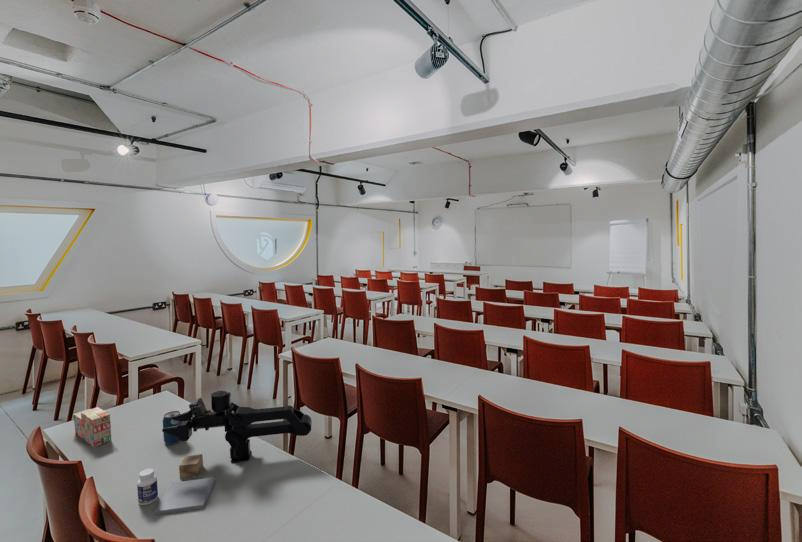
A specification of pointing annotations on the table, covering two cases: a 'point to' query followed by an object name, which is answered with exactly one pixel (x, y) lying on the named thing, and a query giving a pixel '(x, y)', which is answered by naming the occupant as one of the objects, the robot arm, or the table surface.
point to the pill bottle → (147, 487)
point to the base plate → (185, 496)
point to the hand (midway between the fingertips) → (167, 424)
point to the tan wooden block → (191, 466)
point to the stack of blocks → (93, 426)
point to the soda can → (169, 423)
